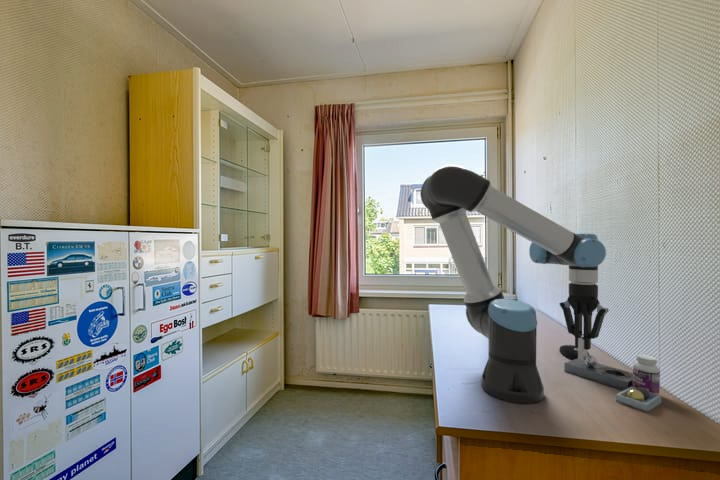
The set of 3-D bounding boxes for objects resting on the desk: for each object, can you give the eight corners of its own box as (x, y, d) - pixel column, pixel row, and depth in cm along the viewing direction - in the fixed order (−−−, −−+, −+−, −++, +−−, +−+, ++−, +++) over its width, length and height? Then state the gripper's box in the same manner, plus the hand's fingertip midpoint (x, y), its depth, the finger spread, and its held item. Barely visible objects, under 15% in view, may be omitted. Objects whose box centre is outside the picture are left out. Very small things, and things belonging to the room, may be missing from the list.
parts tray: (647, 412, 75) (647, 404, 75) (616, 401, 80) (616, 394, 80) (661, 403, 80) (661, 395, 80) (631, 393, 85) (631, 386, 85)
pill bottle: (627, 389, 87) (628, 354, 87) (641, 387, 89) (641, 352, 89) (650, 399, 82) (651, 361, 82) (664, 396, 84) (665, 359, 84)
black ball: (646, 402, 79) (646, 391, 79) (632, 397, 82) (632, 386, 82) (651, 399, 81) (651, 388, 81) (637, 395, 83) (637, 384, 83)
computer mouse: (569, 362, 108) (569, 350, 108) (557, 351, 120) (557, 340, 120) (595, 365, 106) (595, 352, 106) (579, 353, 118) (579, 342, 118)
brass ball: (641, 407, 77) (641, 393, 77) (624, 401, 80) (624, 388, 80) (646, 403, 79) (646, 390, 79) (630, 398, 81) (630, 385, 81)
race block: (627, 391, 86) (627, 382, 86) (564, 370, 100) (564, 362, 100) (641, 384, 91) (641, 375, 91) (578, 365, 105) (579, 357, 105)
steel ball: (586, 368, 97) (597, 365, 95) (580, 357, 99) (590, 354, 97) (591, 366, 99) (601, 363, 97) (585, 356, 100) (595, 353, 98)
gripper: (613, 284, 96) (612, 363, 96) (566, 280, 107) (566, 350, 107) (601, 286, 92) (601, 368, 92) (554, 281, 104) (554, 354, 103)
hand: (582, 358), depth 100 cm, fingers closed
